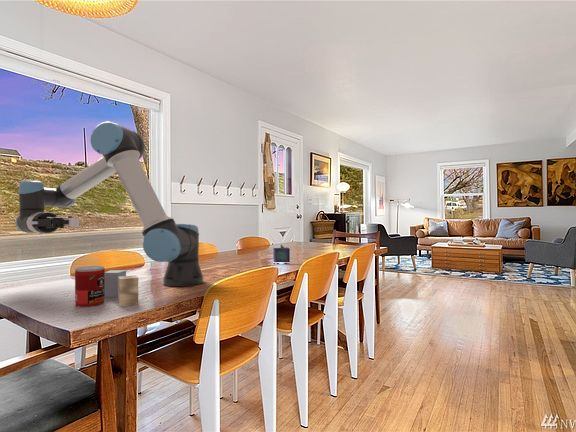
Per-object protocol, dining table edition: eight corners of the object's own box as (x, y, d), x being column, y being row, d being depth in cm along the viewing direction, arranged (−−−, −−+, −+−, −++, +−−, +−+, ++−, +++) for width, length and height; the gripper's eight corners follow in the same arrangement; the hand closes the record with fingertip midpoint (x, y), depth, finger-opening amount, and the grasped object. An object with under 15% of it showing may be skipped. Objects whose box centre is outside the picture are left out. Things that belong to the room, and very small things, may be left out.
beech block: (135, 300, 107) (135, 275, 107) (138, 304, 103) (138, 277, 103) (118, 302, 105) (118, 276, 105) (120, 306, 100) (120, 279, 100)
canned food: (91, 307, 99) (91, 269, 99) (68, 306, 101) (68, 269, 101) (110, 301, 106) (110, 266, 106) (88, 300, 108) (88, 265, 108)
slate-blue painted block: (126, 293, 117) (126, 270, 117) (118, 297, 112) (118, 272, 112) (111, 293, 117) (111, 270, 117) (103, 296, 112) (103, 272, 112)
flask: (272, 264, 189) (272, 244, 189) (273, 263, 192) (273, 244, 192) (289, 264, 188) (289, 244, 188) (290, 263, 191) (290, 244, 191)
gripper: (63, 232, 128) (97, 232, 116) (22, 234, 118) (54, 234, 105) (63, 212, 128) (96, 210, 116) (21, 212, 118) (53, 210, 105)
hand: (76, 222), depth 110 cm, fingers closed
